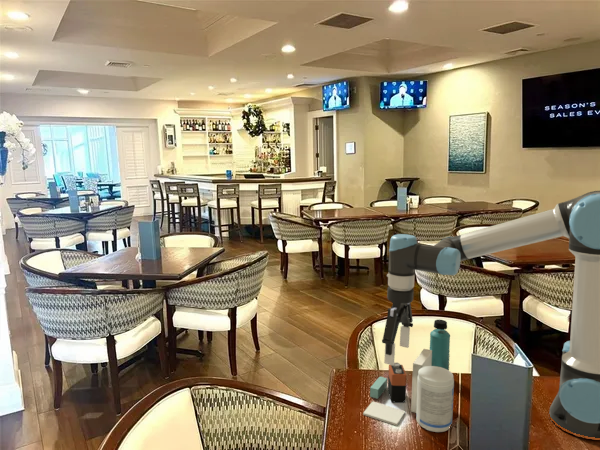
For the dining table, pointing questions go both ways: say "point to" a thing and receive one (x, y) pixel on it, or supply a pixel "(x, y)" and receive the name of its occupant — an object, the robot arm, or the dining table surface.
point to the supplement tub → (435, 398)
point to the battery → (397, 383)
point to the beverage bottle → (440, 344)
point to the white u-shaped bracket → (420, 362)
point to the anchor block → (378, 387)
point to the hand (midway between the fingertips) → (397, 355)
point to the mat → (384, 413)
